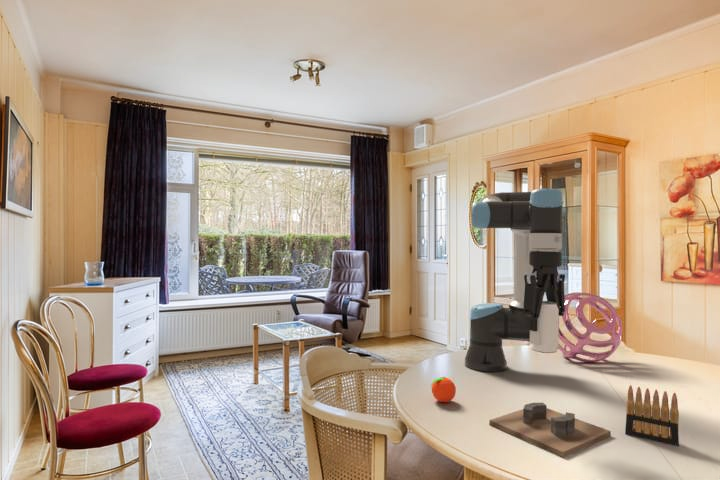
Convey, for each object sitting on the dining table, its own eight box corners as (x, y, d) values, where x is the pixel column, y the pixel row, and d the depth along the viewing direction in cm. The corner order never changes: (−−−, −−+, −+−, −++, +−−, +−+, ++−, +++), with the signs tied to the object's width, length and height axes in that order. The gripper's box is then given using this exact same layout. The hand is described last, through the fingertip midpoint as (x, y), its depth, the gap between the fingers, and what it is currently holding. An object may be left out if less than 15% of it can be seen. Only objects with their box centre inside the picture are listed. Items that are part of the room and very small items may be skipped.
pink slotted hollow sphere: (537, 302, 199) (562, 272, 177) (601, 319, 195) (635, 291, 173) (532, 360, 184) (559, 335, 161) (601, 380, 180) (639, 358, 158)
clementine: (436, 408, 123) (437, 382, 123) (423, 399, 129) (424, 375, 129) (460, 404, 126) (461, 379, 126) (446, 396, 132) (447, 372, 132)
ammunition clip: (625, 434, 108) (625, 385, 108) (625, 431, 109) (626, 383, 109) (679, 446, 102) (679, 394, 102) (678, 443, 103) (679, 392, 103)
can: (545, 354, 106) (546, 304, 106) (524, 348, 112) (525, 301, 112) (563, 351, 109) (564, 303, 109) (542, 346, 115) (543, 300, 115)
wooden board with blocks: (489, 424, 112) (489, 406, 112) (537, 408, 123) (537, 392, 123) (563, 457, 96) (563, 435, 96) (610, 435, 107) (610, 416, 107)
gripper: (534, 250, 102) (533, 350, 102) (581, 251, 113) (580, 341, 113) (507, 250, 109) (506, 343, 108) (554, 250, 119) (553, 335, 119)
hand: (544, 342), depth 111 cm, fingers closed on can, 6 cm apart
